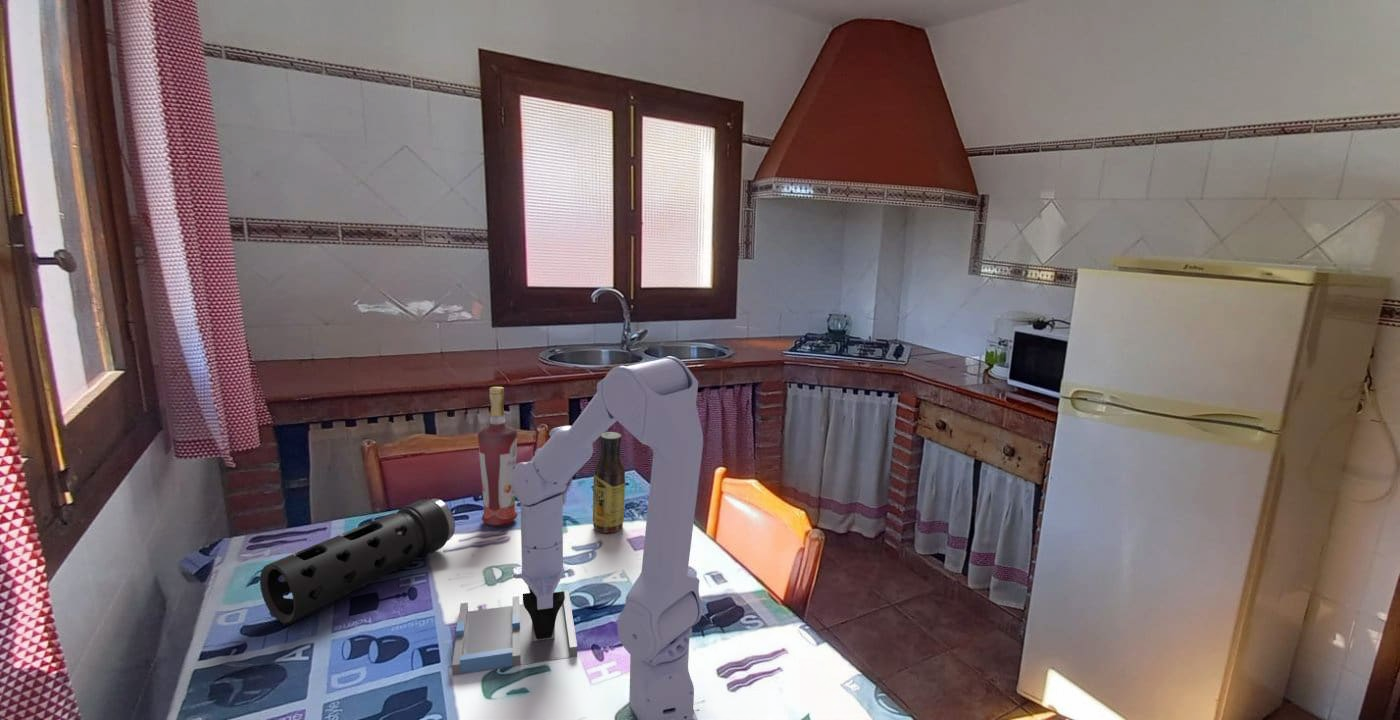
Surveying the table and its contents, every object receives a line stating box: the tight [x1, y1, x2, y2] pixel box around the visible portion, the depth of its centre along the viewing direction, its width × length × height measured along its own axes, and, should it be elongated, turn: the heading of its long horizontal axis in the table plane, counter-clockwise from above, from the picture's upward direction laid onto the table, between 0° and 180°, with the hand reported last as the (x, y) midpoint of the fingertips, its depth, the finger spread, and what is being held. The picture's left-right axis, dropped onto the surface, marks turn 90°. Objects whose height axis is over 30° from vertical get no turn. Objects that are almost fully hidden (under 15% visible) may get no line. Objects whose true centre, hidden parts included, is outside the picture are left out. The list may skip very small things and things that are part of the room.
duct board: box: [451, 589, 578, 677], centre depth 88 cm, size 14×16×3 cm
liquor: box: [477, 386, 518, 528], centre depth 121 cm, size 7×7×28 cm
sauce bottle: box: [592, 431, 626, 534], centre depth 121 cm, size 7×6×20 cm
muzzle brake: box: [259, 498, 456, 627], centre depth 100 cm, size 10×28×10 cm, turn 152°
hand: (543, 625), depth 89 cm, fingers closed on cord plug, 5 cm apart
